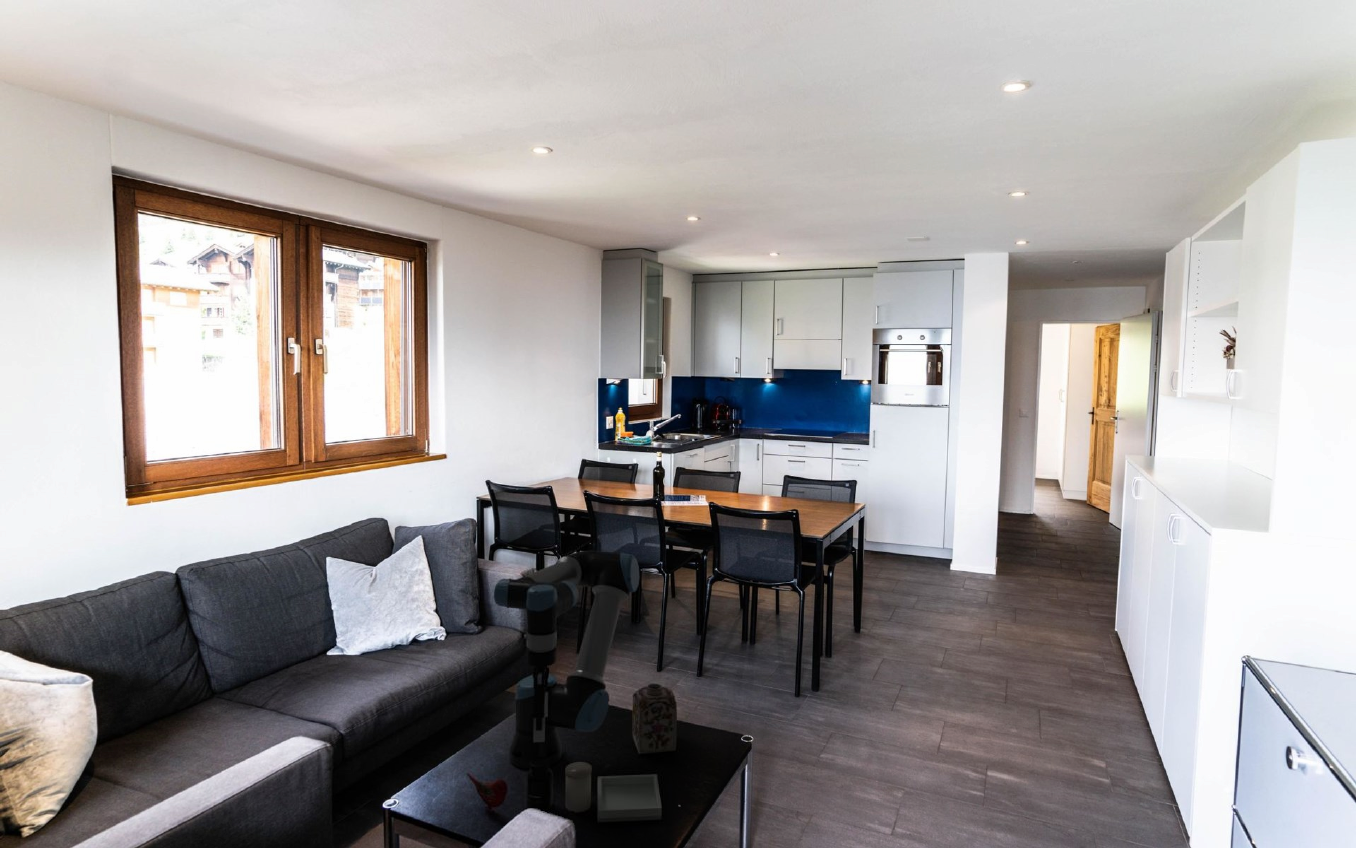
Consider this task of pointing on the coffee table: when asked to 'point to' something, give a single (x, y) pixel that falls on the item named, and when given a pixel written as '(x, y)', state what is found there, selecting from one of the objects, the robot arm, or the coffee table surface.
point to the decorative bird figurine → (491, 792)
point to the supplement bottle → (539, 785)
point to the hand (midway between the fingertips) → (540, 728)
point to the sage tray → (628, 798)
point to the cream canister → (578, 786)
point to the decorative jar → (654, 719)
